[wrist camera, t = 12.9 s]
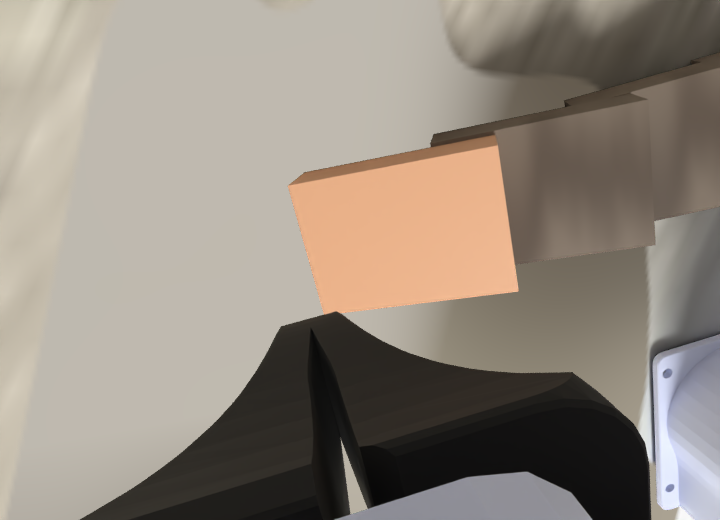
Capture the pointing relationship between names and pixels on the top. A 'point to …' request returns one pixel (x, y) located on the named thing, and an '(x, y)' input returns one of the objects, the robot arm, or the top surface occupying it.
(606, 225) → the domino block
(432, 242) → the peach block
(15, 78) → the top surface
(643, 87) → the dark tile
